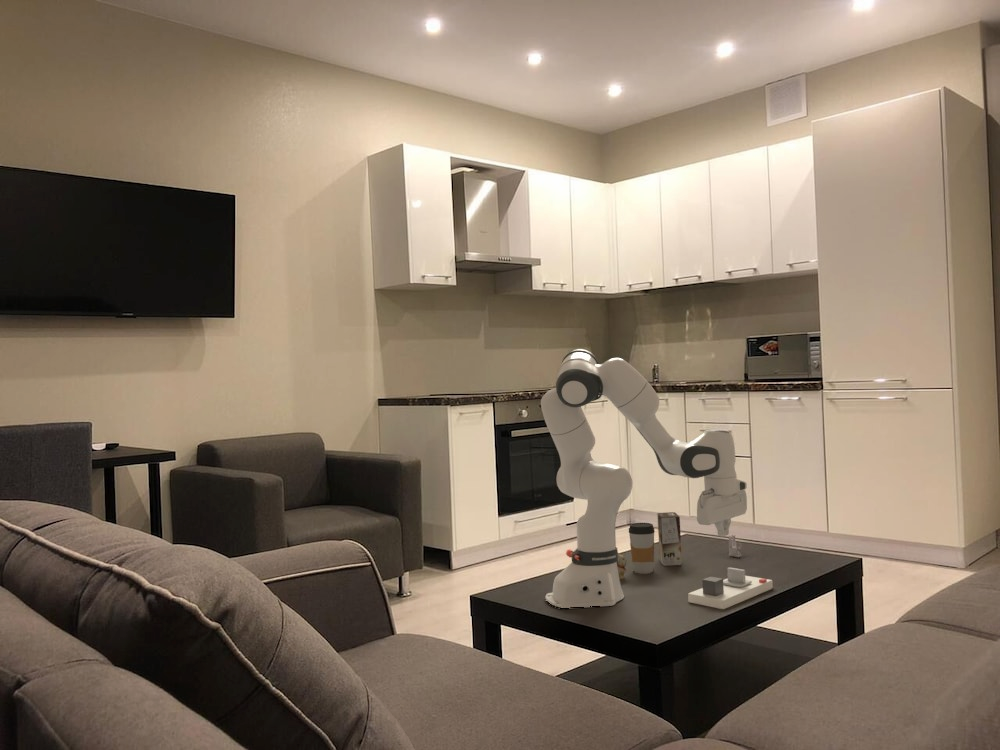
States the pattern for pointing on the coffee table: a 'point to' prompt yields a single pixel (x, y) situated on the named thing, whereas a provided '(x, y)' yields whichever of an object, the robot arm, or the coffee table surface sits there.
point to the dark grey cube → (713, 586)
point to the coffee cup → (642, 547)
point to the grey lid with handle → (736, 578)
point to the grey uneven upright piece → (733, 547)
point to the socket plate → (731, 593)
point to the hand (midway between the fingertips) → (723, 535)
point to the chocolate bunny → (621, 566)
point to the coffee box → (669, 538)
